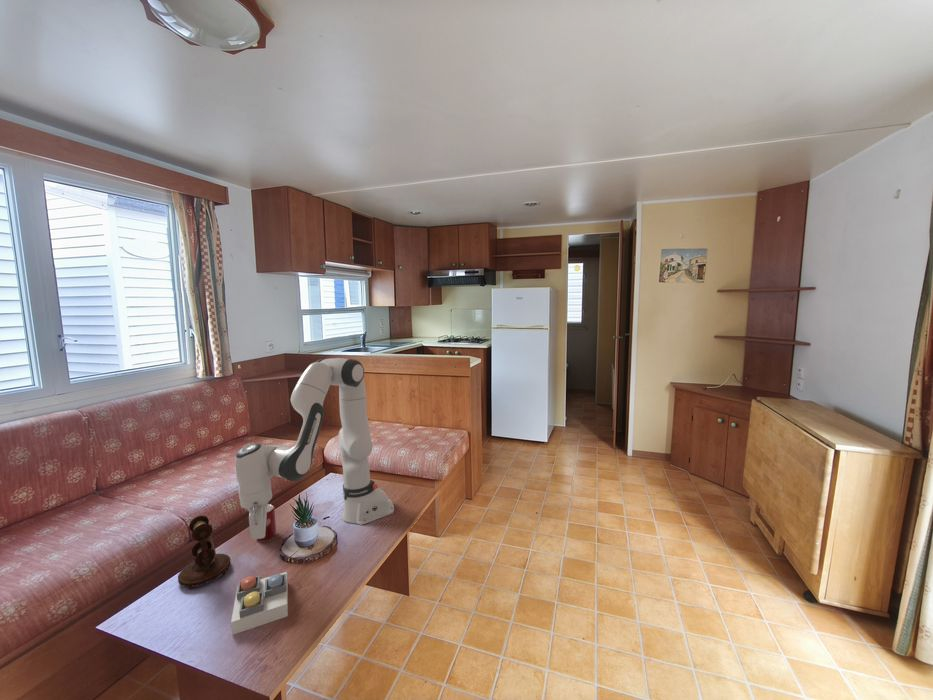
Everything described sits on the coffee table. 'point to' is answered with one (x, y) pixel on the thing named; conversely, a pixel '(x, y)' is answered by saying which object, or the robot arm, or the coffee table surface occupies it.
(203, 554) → the brown spool stand
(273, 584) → the slate button
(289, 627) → the coffee table surface
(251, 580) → the brick button
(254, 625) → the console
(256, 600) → the ochre button
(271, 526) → the soda can
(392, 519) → the coffee table surface
